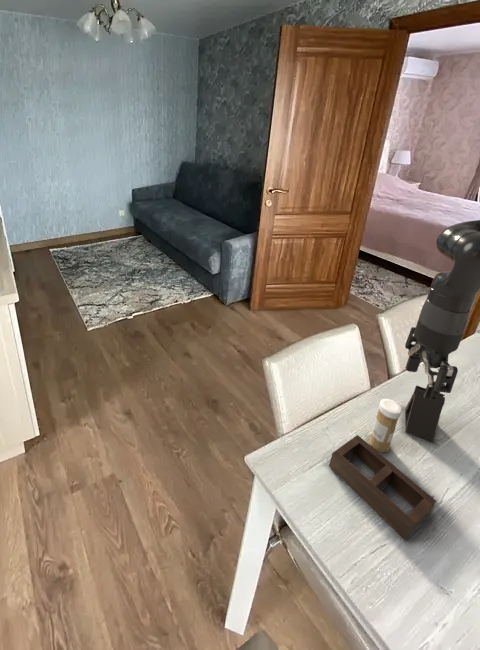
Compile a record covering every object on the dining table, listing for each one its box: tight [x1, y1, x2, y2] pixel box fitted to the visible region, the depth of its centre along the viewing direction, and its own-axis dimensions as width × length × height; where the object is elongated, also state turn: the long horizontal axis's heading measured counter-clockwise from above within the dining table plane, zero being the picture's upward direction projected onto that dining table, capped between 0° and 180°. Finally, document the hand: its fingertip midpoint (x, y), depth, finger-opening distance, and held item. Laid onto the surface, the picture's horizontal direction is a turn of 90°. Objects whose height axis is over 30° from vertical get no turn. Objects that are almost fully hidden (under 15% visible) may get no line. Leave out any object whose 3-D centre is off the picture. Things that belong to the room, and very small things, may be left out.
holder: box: [328, 434, 438, 542], centre depth 77 cm, size 10×18×4 cm, turn 30°
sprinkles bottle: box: [368, 398, 403, 453], centre depth 85 cm, size 5×5×14 cm
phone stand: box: [404, 385, 446, 443], centre depth 91 cm, size 9×6×12 cm, turn 148°
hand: (419, 384), depth 76 cm, fingers open, 8 cm apart
